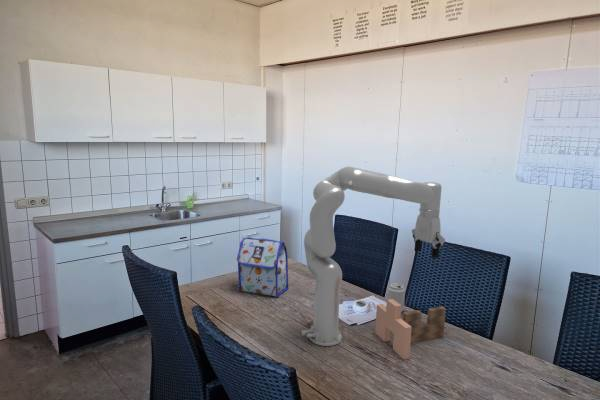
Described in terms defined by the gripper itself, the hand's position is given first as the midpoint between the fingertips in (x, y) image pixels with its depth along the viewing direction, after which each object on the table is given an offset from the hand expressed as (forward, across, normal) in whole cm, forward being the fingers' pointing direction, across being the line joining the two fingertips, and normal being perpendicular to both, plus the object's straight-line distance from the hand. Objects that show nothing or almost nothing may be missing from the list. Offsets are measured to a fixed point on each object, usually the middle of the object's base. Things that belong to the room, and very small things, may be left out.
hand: (426, 254), depth 165 cm
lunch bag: (+31, -61, -47) cm, 83 cm away
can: (+31, -15, -1) cm, 34 cm away
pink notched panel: (+31, +8, -22) cm, 39 cm away
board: (+31, +10, -8) cm, 33 cm away
